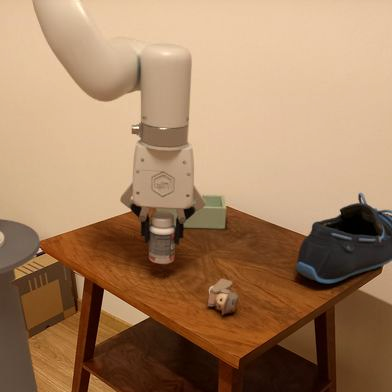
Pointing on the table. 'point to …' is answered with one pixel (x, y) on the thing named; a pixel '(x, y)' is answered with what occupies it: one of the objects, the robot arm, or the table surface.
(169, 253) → the pill bottle
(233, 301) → the toy character
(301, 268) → the moccasin
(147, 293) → the table surface
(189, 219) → the rack
